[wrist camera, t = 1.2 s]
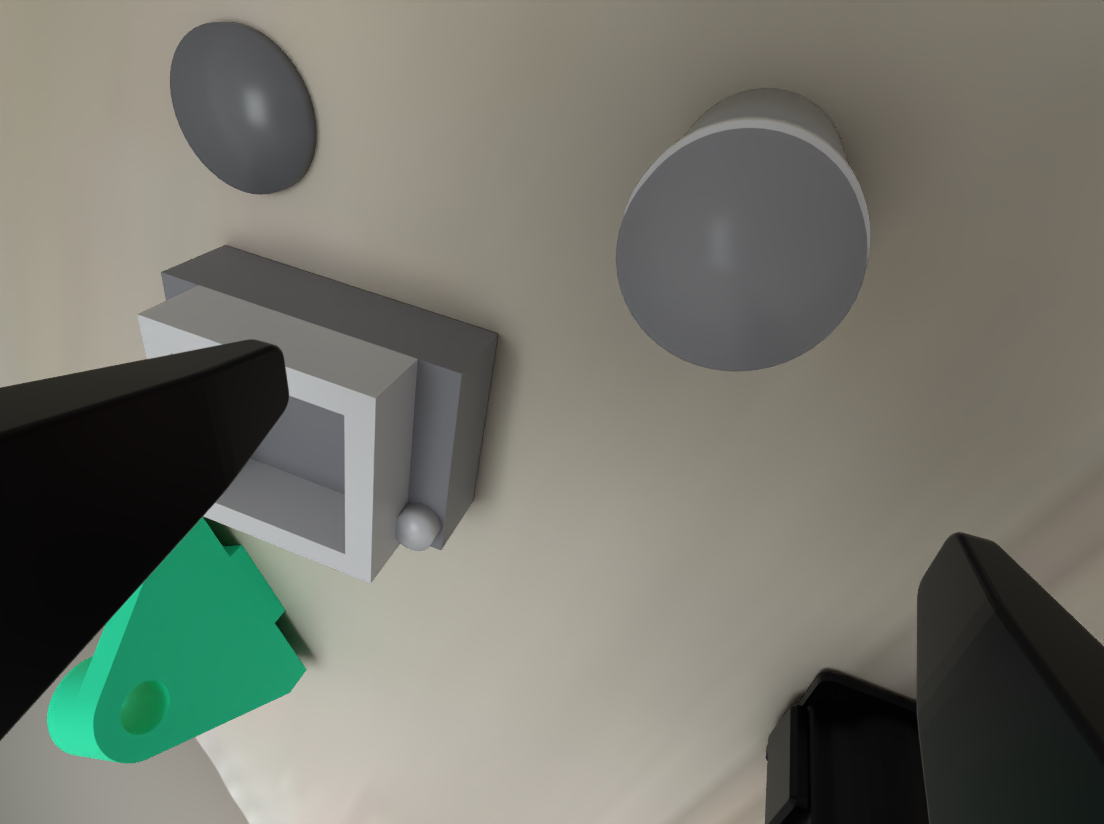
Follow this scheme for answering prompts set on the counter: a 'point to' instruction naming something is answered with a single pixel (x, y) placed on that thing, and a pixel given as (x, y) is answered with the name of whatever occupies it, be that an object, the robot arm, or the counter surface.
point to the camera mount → (177, 657)
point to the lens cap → (243, 107)
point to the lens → (746, 235)
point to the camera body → (340, 408)
